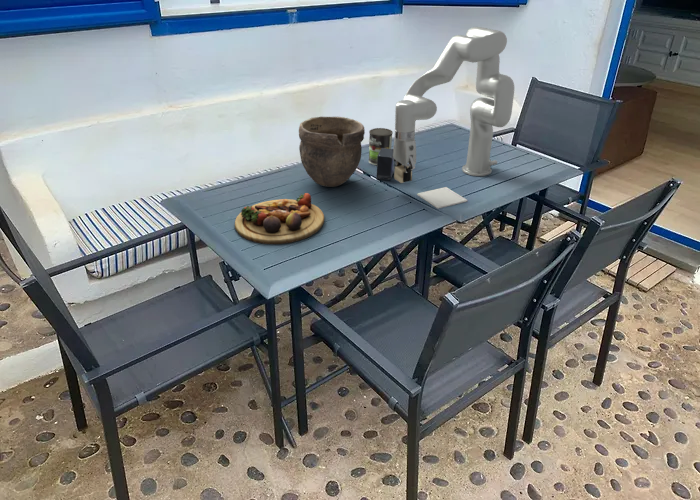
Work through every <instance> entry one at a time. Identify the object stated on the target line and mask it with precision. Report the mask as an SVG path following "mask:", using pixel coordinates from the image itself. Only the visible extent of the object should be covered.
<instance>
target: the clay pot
mask: <svg viewBox="0 0 700 500" xmlns="http://www.w3.org/2000/svg"><path fill="white" fill-rule="evenodd" d="M365 131H366V130H365V126H364V124H363V123H362V122H360V121H359V120H355V119H353V118H348V117H345V116H317V117H316V116H315V117H311V118H308V119H305V120H303V121H302V122H300V123H299V127H298V136H299V141H300V142H299V147H298V149H299V155H300V156H299V157H300V161H301V164H302V166H303V168H304V170H305V172H306V173H307V175H308V176H309V177H310V179H311V180H312V181H313V182H314V183H316V184H318V185H320V186H322V187H329V188H331V187H332V188H334V187H339V186H341V185H343V184H344V183H346V182H347V181H348V180H349V179H350V178H351V176H352V175H353V174H354V173H355V172H356V170H357V168H358V166H359V165H360V162H361V159H362V148H363V147H362V142H363V141H364V139H365V133H366V132H365Z"/></svg>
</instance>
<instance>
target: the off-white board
mask: <svg viewBox="0 0 700 500" xmlns="http://www.w3.org/2000/svg"><path fill="white" fill-rule="evenodd" d="M416 195H417V196H418V197H419V198H421V199H423V200H424V201H426V202H427V203H428V204H430V205H431V206H433V207H435V208H436V209H442V208H446V207H451V206H455V205H459V204H463V203H466V202H468V199H466V198H465V197H464V196H461V195H460V194H458V193H457V192H455V191H453V190H451V189H450V188H448V187H447V186H445V187H440V188H436V189H432V190H427V191H426V190H425V191H422V192H418V193H416Z"/></svg>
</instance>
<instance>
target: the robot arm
mask: <svg viewBox="0 0 700 500" xmlns="http://www.w3.org/2000/svg"><path fill="white" fill-rule="evenodd" d="M507 43H508V38H507V36H506V33H505V32H503V31H501V30H497V29H492V28H487V27H482V26H473V27H470V28H469V29H467V31H466V33H465V35H464V34H456V35H453V36H452V37H451V38H450V39H449V40H448V42H447V44H446V46H445V47H444V49H442V52H441V54H440V56H439V57H438V58H437V60H436V62H435V64H434V65H433V67H431V69H429V70H428V71H426V72H424V73H423V74H422V75H420V76H418V78H416V79H415V80H414V81H413V83H412V84H411V85H410V86H409V88H408V90H407V91H406V93H405V95H404V97H403V99H402V100H398V101H397V102H396V104H395V110H394V112H395V115H394V116H395V117H394V121H395V123H394V140H393V147H392V149H393V158H394V168H395V167H396V166H401V165H404V171H405V172H404V173H403V182H404V183H406V182H411V172H412V173H413V170H414V169H416V164H417V142H416V139H415V138H416V137H415V135H416V121H424V120H429V119H431V118H433V117H434V116H435V115H436V114H437V112H438V107H437V104H436V102H435V101H433V100H432V99H430V98H427V97H424V94H425V93H426V92H428V91H429V90H430V89H431V88H433V87H436V86H440V85H443V84H448V83H450V82H451V81H452V80H453V79H454V78H455V76H456V74H457V72H458V71H459V69H460V67H461V66H462V64H463V63H464V62H467V63H468V62H469V63H472V64H473V63H476V65H477V67H476V68H477V69H476V77H475V79H476V80H475V89H476V93H478V94H479V95H480V96H484V97H477V98H476V99H475V100H473V101H472V103H471V105H470V109H469V114H470V115H469V116H470V127H469V128H470V129H469V137H468V138H469V139H468V148H467V154H466V163H465V164H463V165H462V168H461V171H462V172H463V174H466V175H469V176H472V177H473V176H474V177H485V176H489V175H490V174H491V173H492V168H491V167H492V166H495V165H497V164H498V160H497V159H495V160H492V159H490V158H491V151H492V144H493V143H492V142H493V137H494V128H493V127H496V128H504V127H505V126H506V125H507V124H509V122H510V120H511V116H512V113H513V104H514V98H515V97H514V96H515V83H514V80H513V79H512V78H511V77H510V76H508V75H506V74H502V73H500V63H501V62H500V60H501V59H500V54H502V53H503V51H504V50H505V49H506V48H507ZM407 166H409V168H407Z"/></svg>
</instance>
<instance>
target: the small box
mask: <svg viewBox="0 0 700 500" xmlns="http://www.w3.org/2000/svg"><path fill="white" fill-rule="evenodd" d="M394 171H395V161H394V158H393V148H391V149H388V148H381V150H380V152H379V154H378V156H377V165H376V175H375V176H376V178H375V179H376V180H383V181H384V180H385V181H391V179H392V176H394V175H393V174H394Z"/></svg>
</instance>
